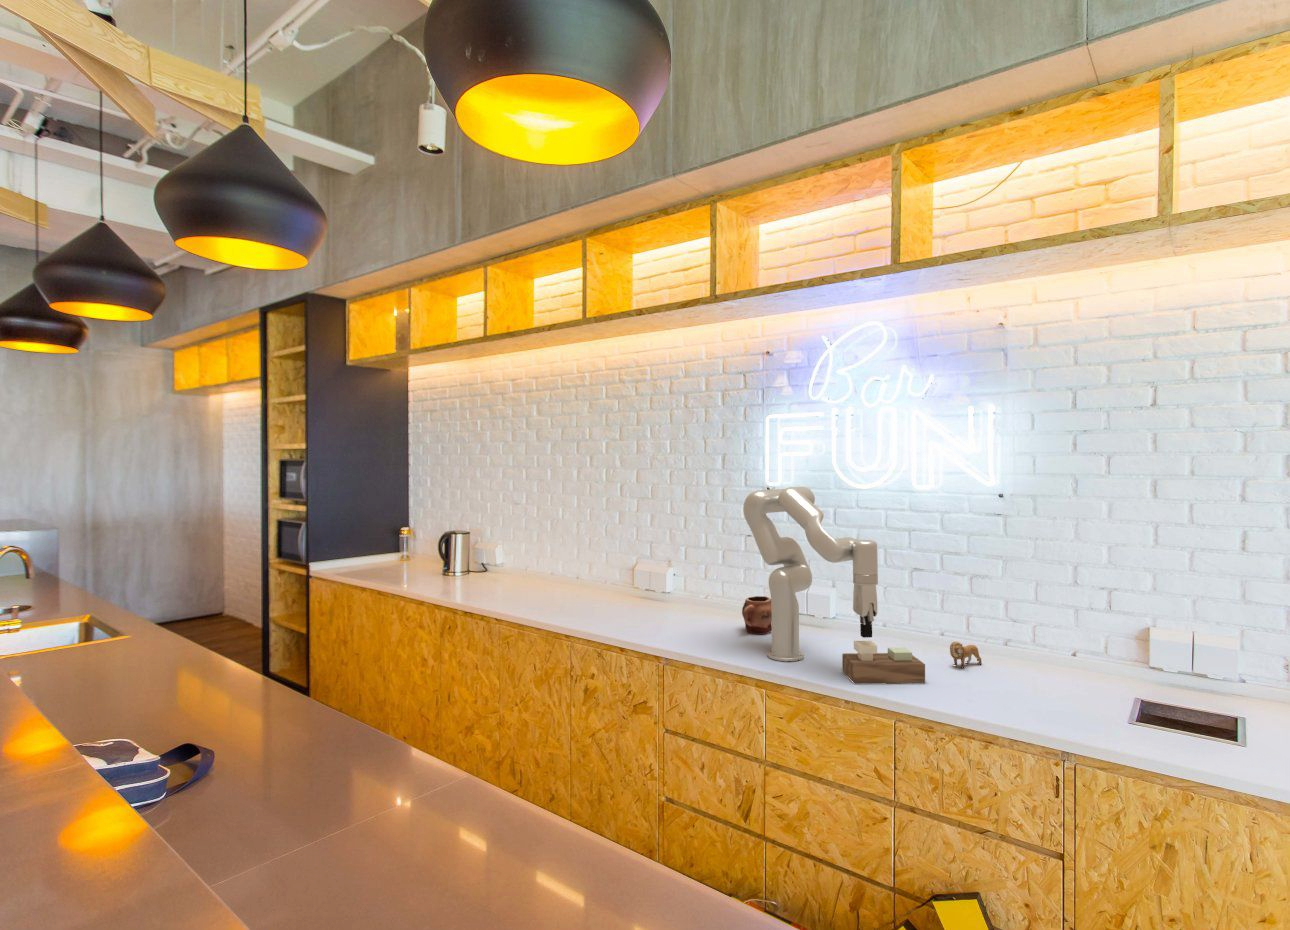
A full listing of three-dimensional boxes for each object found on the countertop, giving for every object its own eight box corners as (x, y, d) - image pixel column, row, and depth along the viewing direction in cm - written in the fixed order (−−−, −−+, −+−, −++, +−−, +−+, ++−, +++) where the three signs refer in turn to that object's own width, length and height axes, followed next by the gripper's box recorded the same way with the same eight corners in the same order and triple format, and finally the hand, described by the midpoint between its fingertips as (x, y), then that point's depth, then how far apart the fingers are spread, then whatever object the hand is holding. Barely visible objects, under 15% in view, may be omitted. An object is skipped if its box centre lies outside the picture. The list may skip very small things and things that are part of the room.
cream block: (853, 662, 214) (853, 640, 214) (871, 662, 214) (871, 640, 214) (859, 667, 208) (859, 645, 208) (877, 667, 208) (877, 645, 208)
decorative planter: (760, 640, 255) (760, 604, 255) (732, 635, 262) (732, 600, 262) (781, 629, 272) (781, 595, 272) (754, 625, 279) (754, 592, 279)
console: (842, 671, 217) (842, 653, 217) (909, 671, 217) (909, 653, 217) (854, 684, 205) (854, 664, 205) (925, 683, 205) (925, 664, 205)
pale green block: (887, 669, 214) (887, 647, 214) (905, 669, 214) (905, 647, 214) (894, 674, 208) (894, 652, 208) (912, 674, 209) (912, 652, 208)
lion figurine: (960, 671, 217) (960, 644, 217) (945, 667, 221) (945, 640, 221) (985, 664, 225) (985, 637, 225) (970, 660, 229) (970, 634, 229)
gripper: (846, 575, 218) (847, 631, 218) (861, 583, 203) (862, 643, 203) (869, 575, 218) (870, 630, 218) (885, 582, 204) (886, 642, 203)
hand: (866, 636), depth 211 cm, fingers closed
